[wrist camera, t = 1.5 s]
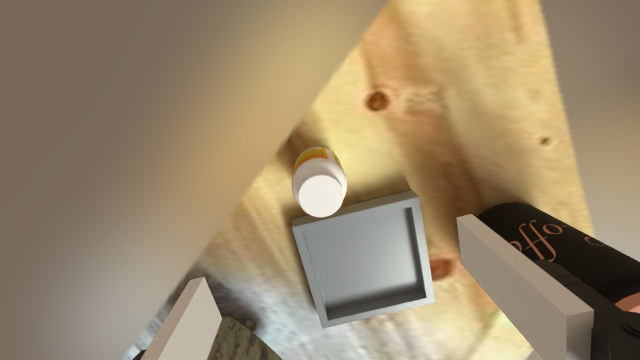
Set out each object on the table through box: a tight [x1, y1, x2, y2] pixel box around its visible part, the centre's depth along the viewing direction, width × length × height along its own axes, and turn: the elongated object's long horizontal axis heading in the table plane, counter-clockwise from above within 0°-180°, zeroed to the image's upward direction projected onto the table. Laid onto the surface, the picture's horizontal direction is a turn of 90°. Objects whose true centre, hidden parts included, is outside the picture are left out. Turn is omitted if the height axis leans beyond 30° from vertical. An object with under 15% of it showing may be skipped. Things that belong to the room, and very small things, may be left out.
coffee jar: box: [477, 202, 640, 313], centre depth 30 cm, size 11×11×18 cm
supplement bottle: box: [292, 146, 347, 217], centre depth 30 cm, size 5×5×10 cm
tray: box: [292, 190, 435, 328], centre depth 37 cm, size 15×15×2 cm
